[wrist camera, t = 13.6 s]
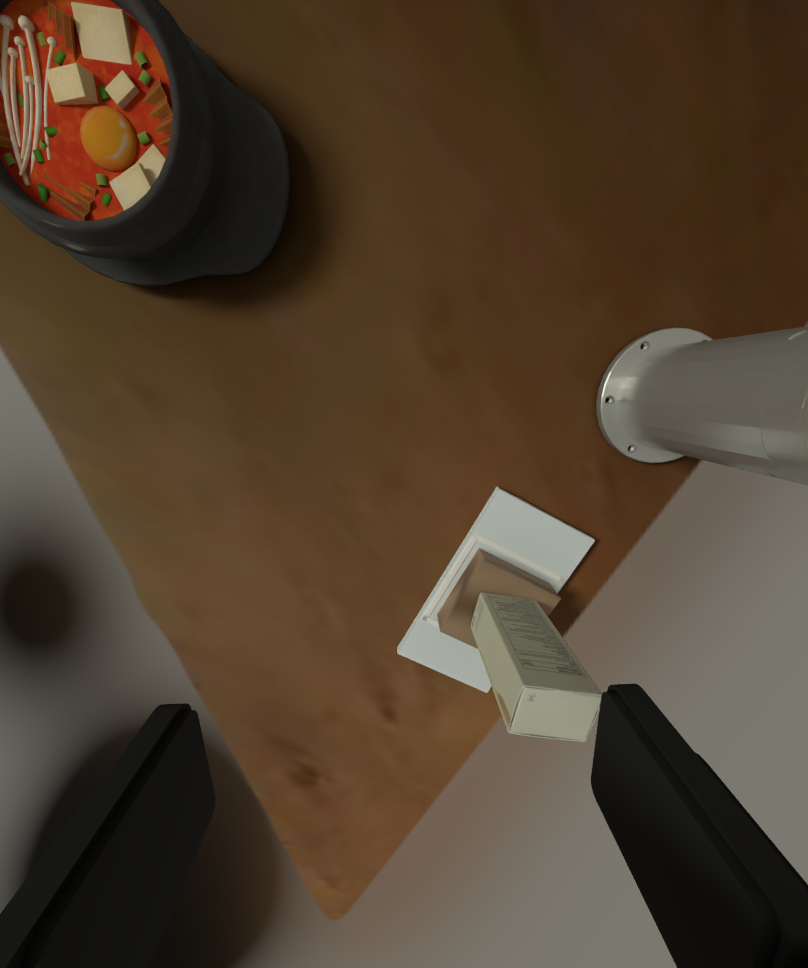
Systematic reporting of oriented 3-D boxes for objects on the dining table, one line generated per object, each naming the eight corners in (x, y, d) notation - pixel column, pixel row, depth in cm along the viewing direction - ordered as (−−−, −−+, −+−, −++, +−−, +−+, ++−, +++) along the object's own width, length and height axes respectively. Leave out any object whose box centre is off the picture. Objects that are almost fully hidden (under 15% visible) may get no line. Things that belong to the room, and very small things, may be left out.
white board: (496, 486, 39) (499, 489, 38) (590, 536, 40) (595, 540, 39) (397, 647, 43) (397, 654, 42) (484, 686, 45) (487, 693, 44)
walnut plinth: (478, 547, 39) (485, 560, 36) (549, 583, 41) (561, 598, 38) (436, 614, 41) (440, 631, 38) (505, 646, 43) (513, 665, 40)
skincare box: (469, 626, 38) (502, 734, 26) (479, 589, 37) (518, 684, 25) (529, 636, 39) (587, 746, 27) (540, 600, 38) (607, 698, 26)
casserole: (-14, 244, 32) (-152, 196, 24) (-14, -28, 28) (-183, -200, 20) (274, 328, 34) (237, 310, 26) (317, 89, 30) (288, -22, 22)
